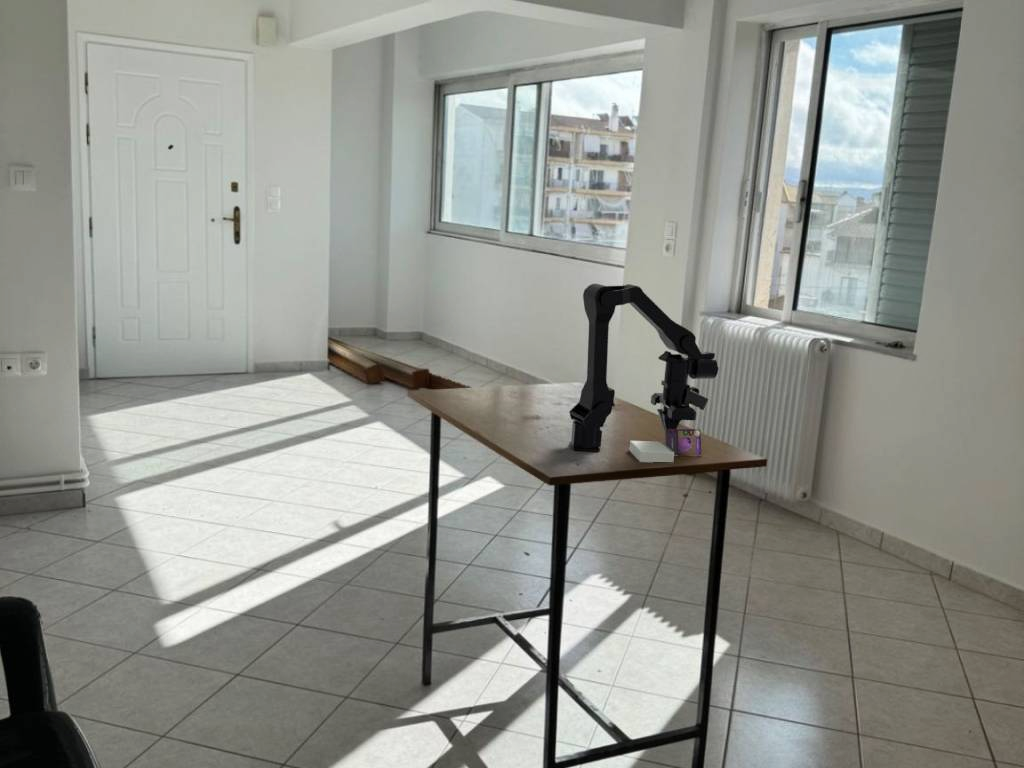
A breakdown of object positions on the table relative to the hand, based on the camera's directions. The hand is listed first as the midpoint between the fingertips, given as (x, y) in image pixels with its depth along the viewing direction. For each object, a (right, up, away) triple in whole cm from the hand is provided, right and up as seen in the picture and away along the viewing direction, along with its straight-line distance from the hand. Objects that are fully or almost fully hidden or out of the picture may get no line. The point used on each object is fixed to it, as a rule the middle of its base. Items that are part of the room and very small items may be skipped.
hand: (669, 439), depth 238 cm
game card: (+1, -3, -8) cm, 8 cm away
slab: (-6, -3, -12) cm, 14 cm away
